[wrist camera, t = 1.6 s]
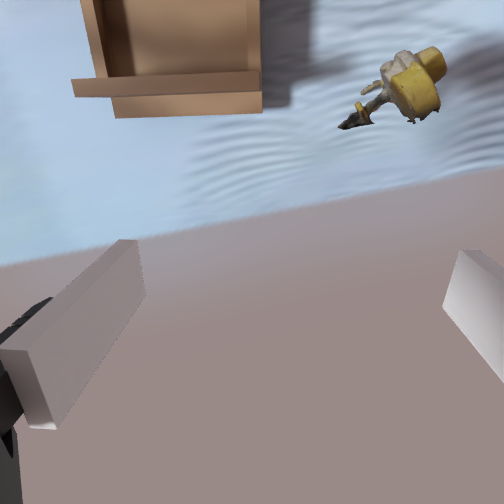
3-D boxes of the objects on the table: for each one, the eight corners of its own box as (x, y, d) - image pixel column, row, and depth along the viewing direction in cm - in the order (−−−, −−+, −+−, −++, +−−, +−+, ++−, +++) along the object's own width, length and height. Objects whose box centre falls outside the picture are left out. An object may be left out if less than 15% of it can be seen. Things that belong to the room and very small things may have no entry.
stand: (100, -32, 28) (31, -85, 20) (260, -43, 27) (254, -103, 19) (128, 116, 33) (81, 122, 25) (263, 112, 32) (259, 116, 24)
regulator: (380, 50, 30) (471, 10, 16) (400, 89, 31) (500, 81, 17) (311, 105, 32) (339, 110, 18) (332, 139, 33) (373, 166, 20)
